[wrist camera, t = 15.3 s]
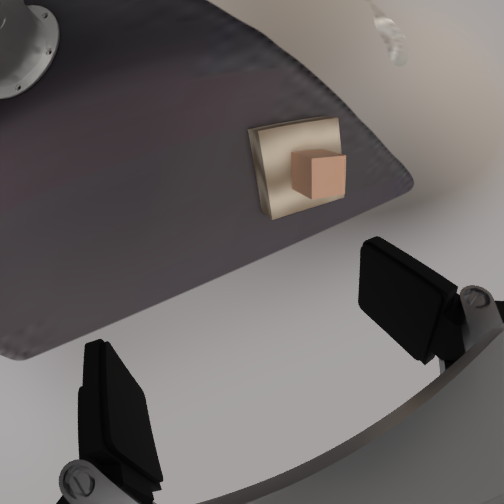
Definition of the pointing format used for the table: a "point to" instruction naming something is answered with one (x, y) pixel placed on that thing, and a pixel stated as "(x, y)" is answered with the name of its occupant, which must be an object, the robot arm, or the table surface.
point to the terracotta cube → (318, 173)
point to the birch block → (289, 161)
